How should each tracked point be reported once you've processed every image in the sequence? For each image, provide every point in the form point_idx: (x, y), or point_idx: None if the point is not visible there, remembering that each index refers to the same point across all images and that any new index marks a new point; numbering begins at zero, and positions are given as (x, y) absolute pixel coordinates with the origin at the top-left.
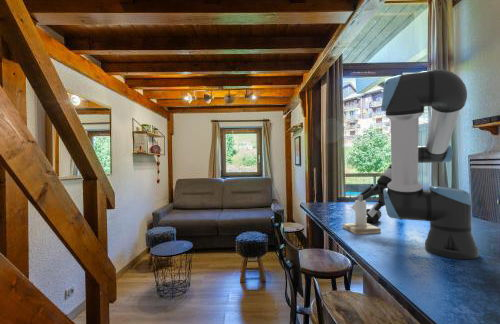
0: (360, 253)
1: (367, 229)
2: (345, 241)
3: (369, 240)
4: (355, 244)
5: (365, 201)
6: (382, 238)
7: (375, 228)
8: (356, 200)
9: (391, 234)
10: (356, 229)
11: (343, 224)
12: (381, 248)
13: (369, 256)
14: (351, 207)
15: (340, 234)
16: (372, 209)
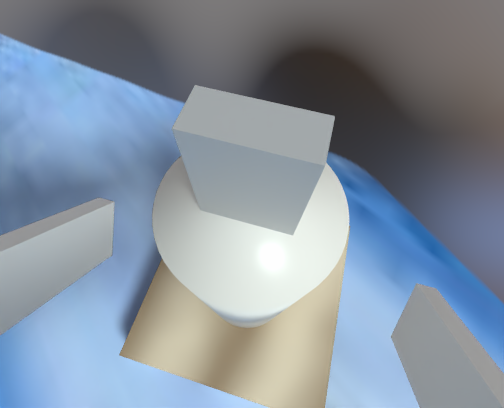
0: (52, 60)
1: None
2: (160, 96)
3: (100, 177)
4: (113, 101)
5: (167, 243)
6: None
7: (144, 319)
8: (340, 201)
9: (62, 391)
10: None
11: None
12: (14, 140)
13: (18, 62)
14: (434, 289)
15: None
16: (47, 224)
